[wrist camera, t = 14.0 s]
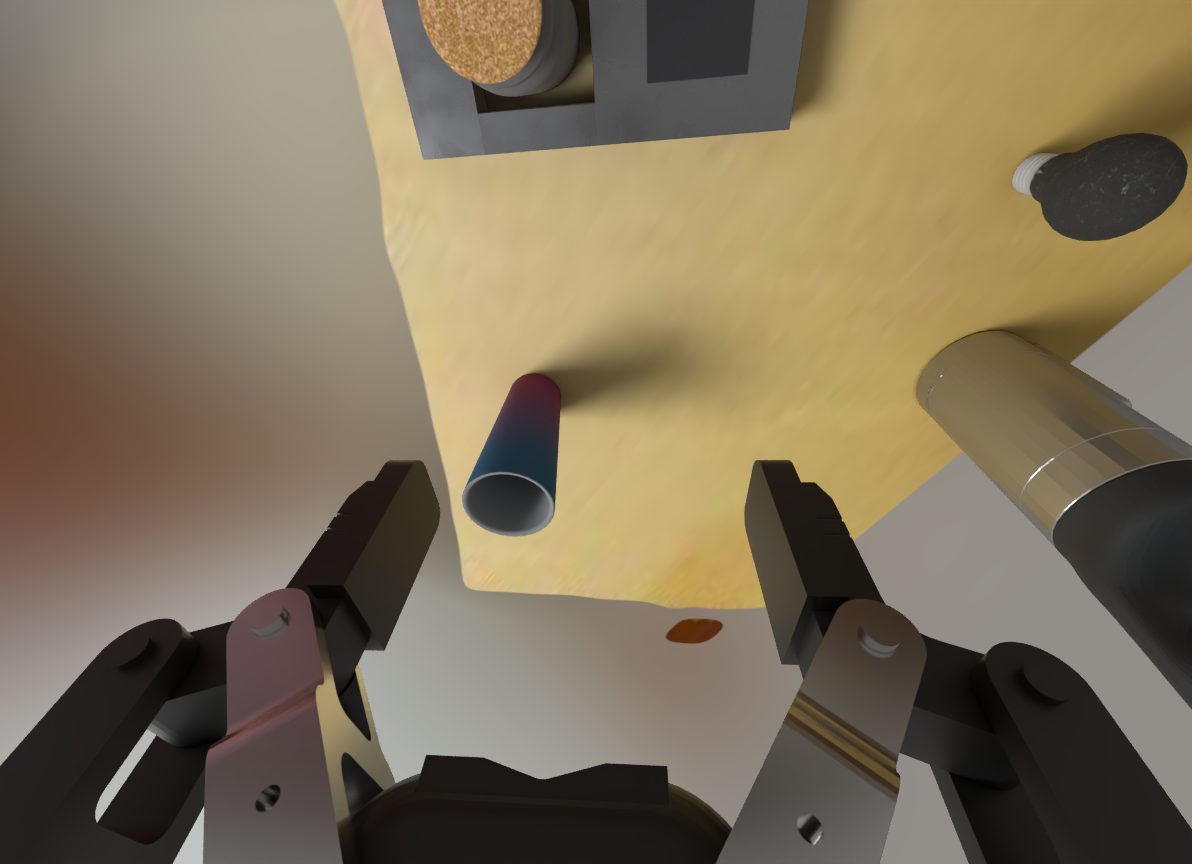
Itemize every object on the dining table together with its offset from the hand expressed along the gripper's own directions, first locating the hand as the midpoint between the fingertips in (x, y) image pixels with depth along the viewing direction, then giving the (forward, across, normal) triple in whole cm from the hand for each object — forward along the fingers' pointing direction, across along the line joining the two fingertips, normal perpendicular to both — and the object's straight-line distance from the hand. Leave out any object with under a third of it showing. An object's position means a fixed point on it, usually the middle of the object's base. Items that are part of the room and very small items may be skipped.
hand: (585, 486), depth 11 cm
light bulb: (+31, -29, -2) cm, 43 cm away
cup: (+30, +8, +16) cm, 35 cm away
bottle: (+30, +5, -11) cm, 32 cm away
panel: (+30, +1, -11) cm, 32 cm away
